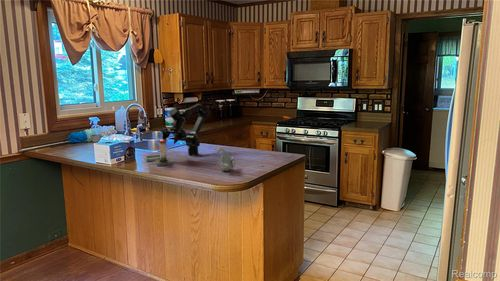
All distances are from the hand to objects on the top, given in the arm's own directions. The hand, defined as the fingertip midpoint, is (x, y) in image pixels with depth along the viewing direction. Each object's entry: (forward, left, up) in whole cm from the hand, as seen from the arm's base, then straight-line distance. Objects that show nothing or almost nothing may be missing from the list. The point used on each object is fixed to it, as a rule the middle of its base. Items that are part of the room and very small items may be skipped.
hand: (168, 143), depth 242 cm
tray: (+6, -13, -13) cm, 20 cm away
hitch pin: (+4, +4, -13) cm, 14 cm away
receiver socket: (+4, +4, -13) cm, 14 cm away
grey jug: (-26, +39, -13) cm, 48 cm away
